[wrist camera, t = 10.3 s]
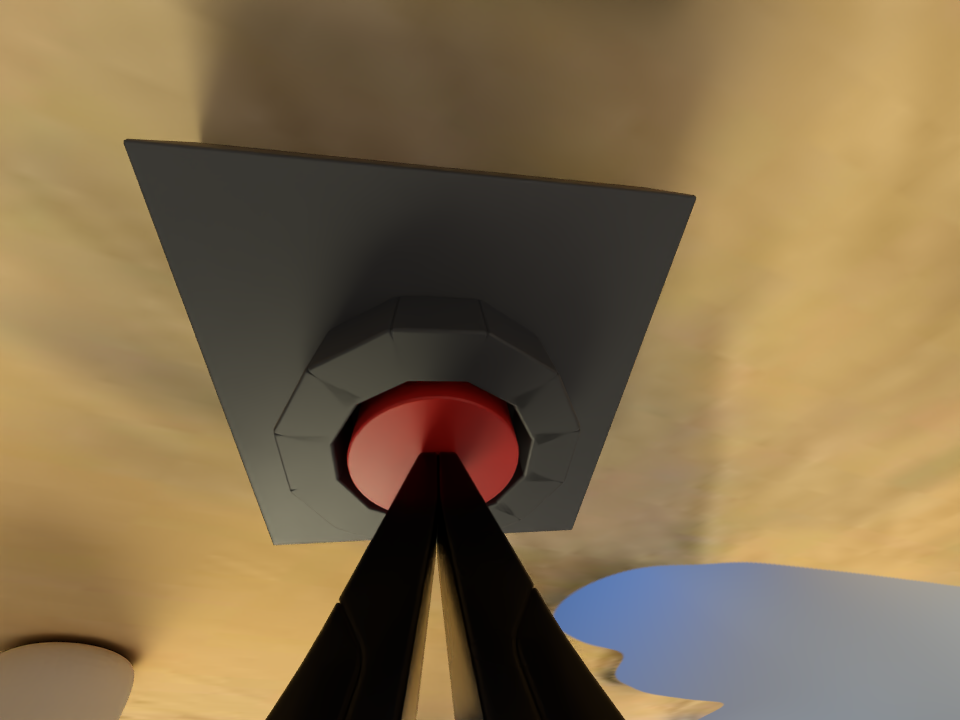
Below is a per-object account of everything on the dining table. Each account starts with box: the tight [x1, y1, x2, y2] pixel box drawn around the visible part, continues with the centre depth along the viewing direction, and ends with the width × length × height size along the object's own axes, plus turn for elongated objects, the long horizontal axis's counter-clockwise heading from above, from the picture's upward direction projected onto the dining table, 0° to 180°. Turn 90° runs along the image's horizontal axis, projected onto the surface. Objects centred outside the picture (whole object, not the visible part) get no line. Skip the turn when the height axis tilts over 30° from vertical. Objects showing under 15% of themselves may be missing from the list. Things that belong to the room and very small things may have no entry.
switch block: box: [124, 139, 696, 545], centre depth 10 cm, size 11×12×4 cm
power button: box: [347, 381, 519, 510], centre depth 9 cm, size 4×4×2 cm
